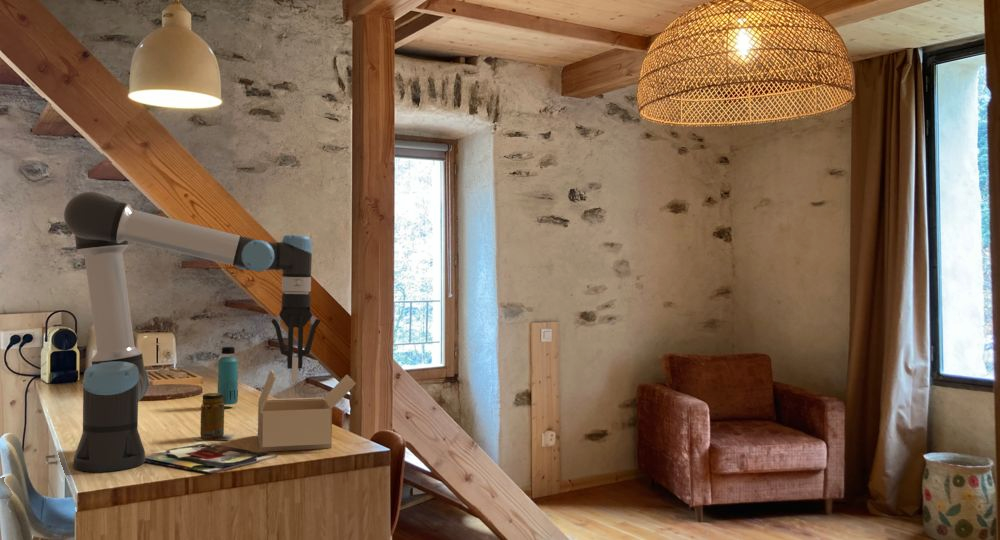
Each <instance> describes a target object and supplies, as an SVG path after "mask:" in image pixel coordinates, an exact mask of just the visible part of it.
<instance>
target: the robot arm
mask: <svg viewBox="0 0 1000 540" xmlns="http://www.w3.org/2000/svg"><path fill="white" fill-rule="evenodd" d="M63 213H64V214H63V219H64V222H65V225H66V227H67V229H68V230H69V231H70V232H71V233H72V234H73V235H74V240H75V249H76V252H77V253H79V254H80V255H82V257H84V263H85V270H86V278H87V287H88V294H89V300H90V307H91V308H90V309H91V310H90V311H91V317H92V325H93V331H94V337H95V338H94V339H95V348H96V353H95V354H94V355H93V357H92V358H91V365H89V366H88V367H86V369H85V371H84V373H83V378H82V387H83V392H82V394H83V396H82V397H83V398H82V433H81V437H80V440H79V442H78V444H77V447H76V450H75V454H74V455H73V463H72V464H73V469H75V470H77V471H80V472H81V471H82V472H91V473H101V472H102V473H104V472H115V471H121V470H129V469H132V468H136V467H138V466H141V465H143V464H144V463H145V462H146V451H145V448H144V444H143V441H142V439H141V436H140V433H139V428H138V426H139V425H138V423H139V422H138V421H139V420H138V419H139V418H138V417H139V402H140V401H141V400H142V399H143V398H144V396H145V395H146V393H147V391H148V388H149V382H150V381H149V380H150V379H149V375H148V372H147V370H146V369H145V365H144V358H143V352H142V351H141V350H140V349H138V348H137V347H136V346H135V340H134V339H135V338H134V331H133V323H132V316H131V307H130V301H129V293H128V286H127V277H126V271H125V270H126V269H125V261H124V256H123V255H124V251H126V249H127V248H128V247H129V243H128V242H130V243H136V244H139V245H142V246H143V245H144V246H148V247H153V248H157V249H161V250H166V251H170V252H174V253H179V254H183V255H187V256H191V257H197V258H200V259H205V260H210V261H212V262H213V261H214V262H217V263H221V264H222V263H223V264H227V265H231V266H235V268H236V269H237V270H244V271H253V272H265V271H282V277H281V291H282V292H283V293H282V294H281V309H280V312H279V313H278V314H279V315H278V316H275V317H274V318H271V320H270V322H271V324H272V325H273V326H274V330H275V334H276V337H277V343H278V347H279V351H280V353H281V355H284V356H286V359H287V362H286V363H287V364H286V366H287V369H289V370H291V372H290V374H291V375H290V379H291V382H299V381H298V379H299V378H298V377H299V375H298V374H299V369H302V368H303V357H304V356H306V355H309V354H310V351H311V348H312V345H313V344H312V343H313V341H314V337H315V333H316V329H317V327H318V326H319V325H320V323H321V320H320V318H317V317H315V316H314V315H313V312H312V310H311V299H312V297H311V296H312V295H311V293H310V292H311V291H312V287H311V286H312V257H313V252H312V249H313V248H312V238H311V237H309V236H308V235H297V234H296V235H293V234H290V235H288V234H287V235H284V236H283V237H282V240H281V241H276V242H275V241H274V242H272V241H266V240H261V239H255V238H251V237H246V236H242V235H239V234H235V233H231V232H226V231H223V230H218V229H215V228H210V227H206V226H202V225H198V224H194V223H189V222H186V221H181V220H177V219H174V218H173V219H172V218H168V217H165V216H162V215H161V216H160V215H157V214H153V213H149V212H144V211H140V210H136V209H133V207H132V205H131V204H129V203H125V202H121V201H119V200H117V199H115V198H113V197H112V196H110V195H105V194H103V193H100V192H96V191H85V192H82V193H79V194H76V195H74V196H73V197H72V198H71V199H69V201H68V202H67V204H66V206H65V208H64V211H63ZM281 320H282V321H283V323H284V324H285V326H286V327H287V350H286V347H285V343H284V339H283V334H282V330H281V329H282V328H281V323H282V322H281ZM309 321H310V322H309ZM308 323H310V328H309V332H308V336H307V339H306V343H305V346H304V328H305V326H306V324H308ZM294 328H297V343H296V344H297V345H296V346H297V347H296V348H297V355H293V354H294V353H293V352H294V349H293V348H294ZM303 347H304V348H303Z"/></svg>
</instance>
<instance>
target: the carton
mask: <svg viewBox="0 0 1000 540" xmlns="http://www.w3.org/2000/svg"><path fill="white" fill-rule="evenodd" d="M257 403H258V404H257V406H258V409H257V442H258V448H259V452H260V453H264V452H280V451H281V452H283V451H300V450H301V451H302V450H319V449H320V450H321V449H332V442H333V440H332V438H333V437H332V435H333V408H332V409H331V408H330V406H329V405H328V403H327V402H326V400H325V399H324V398H323V400H296V401H267V402H266V404H265V406H264V409H263V411H281V410H307V409H331V444H317V445H298V446H279V447H262V445H263V411H261V410H260V405H259V401H257Z"/></svg>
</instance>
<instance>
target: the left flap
mask: <svg viewBox="0 0 1000 540" xmlns="http://www.w3.org/2000/svg"><path fill="white" fill-rule="evenodd" d="M275 380H276V374H275V372H274V370H273V369H271V368H270V370H269V373H268V376H267V378H266V381H265V383H264V386H263V387H262V391H261V393H260V396H259V398H258V402H259V405H260V410H261V411H263V409H264V406H265V404H266V401H267V399H268V398H269V396H270V393H271V390H272V388H273V385H274V383H275Z"/></svg>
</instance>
